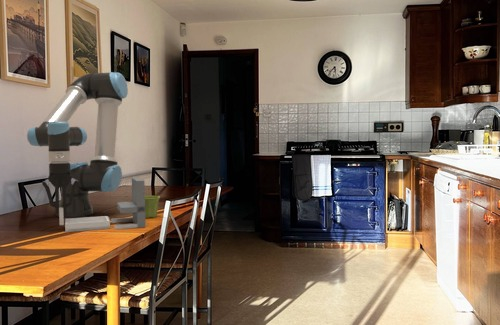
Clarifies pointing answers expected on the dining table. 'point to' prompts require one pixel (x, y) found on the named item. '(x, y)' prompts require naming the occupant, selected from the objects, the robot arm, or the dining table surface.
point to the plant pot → (151, 206)
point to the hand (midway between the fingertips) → (61, 224)
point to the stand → (133, 207)
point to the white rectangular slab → (87, 223)
